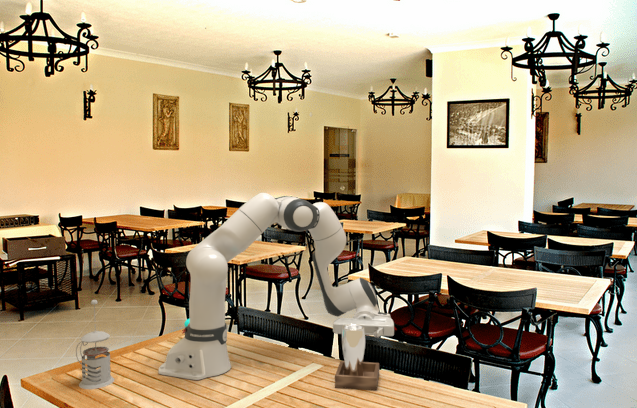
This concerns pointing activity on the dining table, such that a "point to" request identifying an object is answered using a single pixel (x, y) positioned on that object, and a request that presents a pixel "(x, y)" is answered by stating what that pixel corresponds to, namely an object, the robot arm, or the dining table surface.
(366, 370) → the walnut tray
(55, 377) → the dining table surface
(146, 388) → the dining table surface
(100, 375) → the french press
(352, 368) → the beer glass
